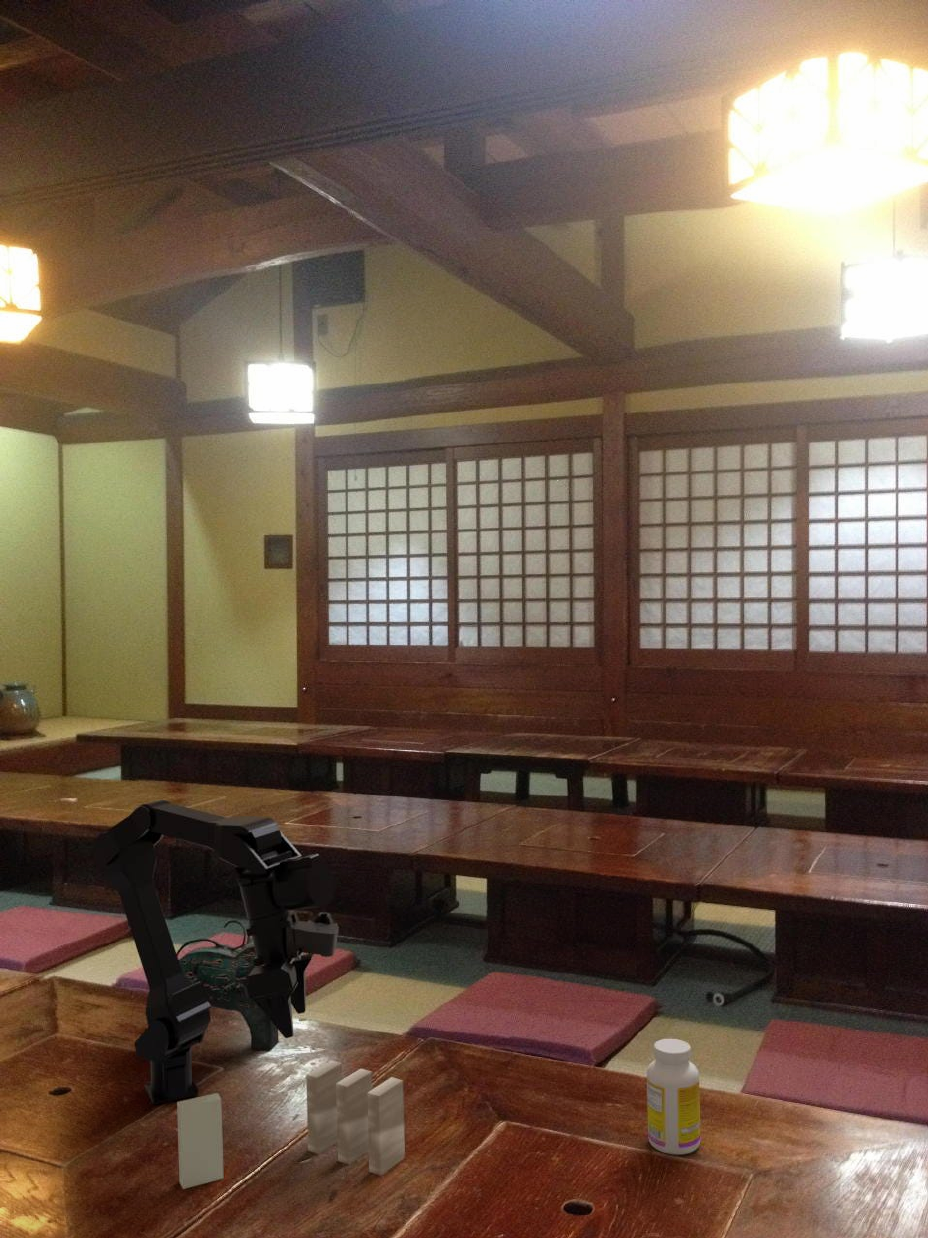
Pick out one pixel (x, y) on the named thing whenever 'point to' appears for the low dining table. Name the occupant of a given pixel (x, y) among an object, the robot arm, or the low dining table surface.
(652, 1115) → the supplement bottle
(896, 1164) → the low dining table surface
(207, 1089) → the low dining table surface
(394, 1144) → the ivory domino
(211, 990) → the ceramic cat
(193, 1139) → the sage domino
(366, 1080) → the ivory domino
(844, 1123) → the low dining table surface
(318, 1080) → the ivory domino
